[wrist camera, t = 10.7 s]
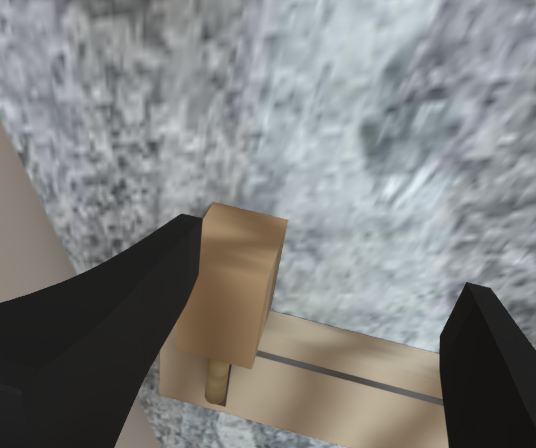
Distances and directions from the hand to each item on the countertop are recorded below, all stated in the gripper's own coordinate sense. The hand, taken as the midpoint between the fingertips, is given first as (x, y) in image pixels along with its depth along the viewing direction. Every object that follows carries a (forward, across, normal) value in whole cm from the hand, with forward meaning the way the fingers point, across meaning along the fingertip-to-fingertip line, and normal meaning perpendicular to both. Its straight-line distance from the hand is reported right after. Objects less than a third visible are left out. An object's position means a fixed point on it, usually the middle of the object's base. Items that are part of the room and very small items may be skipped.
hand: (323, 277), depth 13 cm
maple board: (+10, -2, +16) cm, 19 cm away
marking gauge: (+10, +4, +11) cm, 16 cm away
